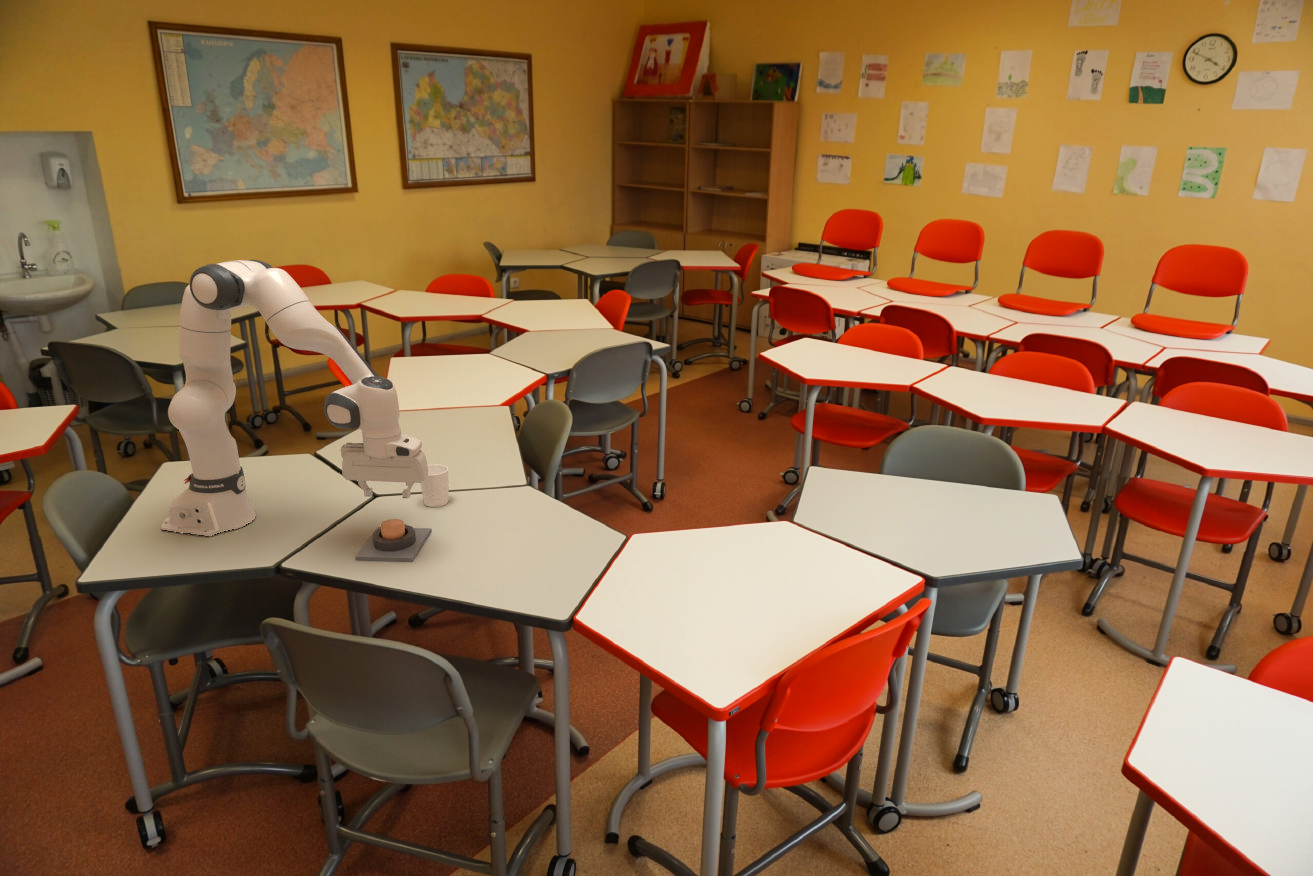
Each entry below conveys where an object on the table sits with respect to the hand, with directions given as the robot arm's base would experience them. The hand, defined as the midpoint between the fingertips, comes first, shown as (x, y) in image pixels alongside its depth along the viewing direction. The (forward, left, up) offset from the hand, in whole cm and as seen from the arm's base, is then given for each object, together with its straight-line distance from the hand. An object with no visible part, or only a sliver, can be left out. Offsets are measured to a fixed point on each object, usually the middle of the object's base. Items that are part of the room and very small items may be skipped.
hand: (387, 496), depth 199 cm
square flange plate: (0, 0, -14) cm, 14 cm away
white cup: (+3, +26, -14) cm, 30 cm away
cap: (0, 0, -13) cm, 13 cm away
